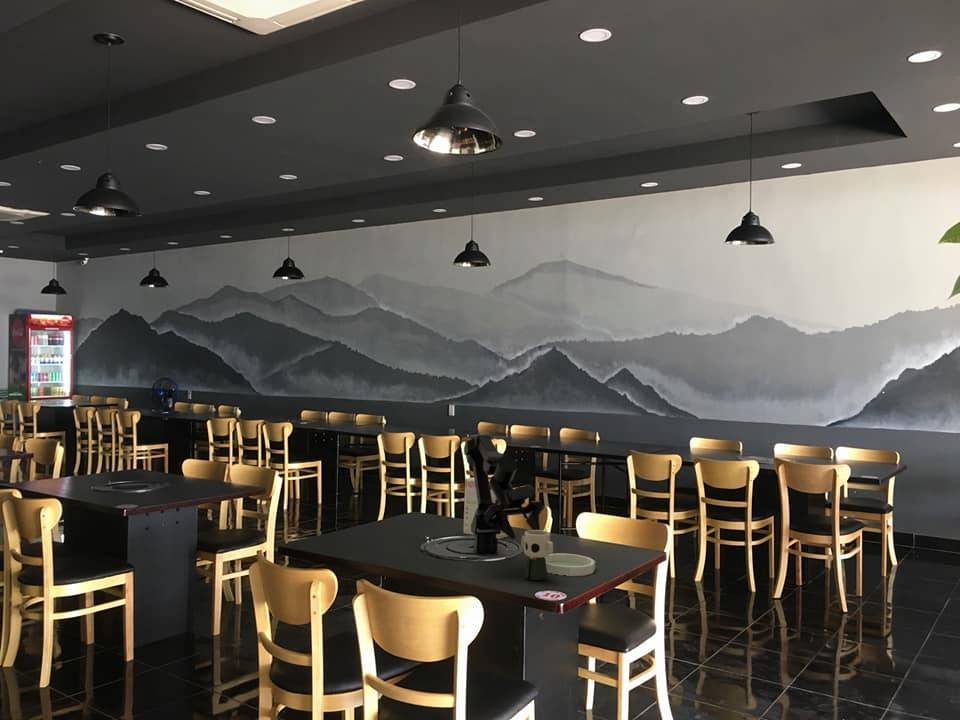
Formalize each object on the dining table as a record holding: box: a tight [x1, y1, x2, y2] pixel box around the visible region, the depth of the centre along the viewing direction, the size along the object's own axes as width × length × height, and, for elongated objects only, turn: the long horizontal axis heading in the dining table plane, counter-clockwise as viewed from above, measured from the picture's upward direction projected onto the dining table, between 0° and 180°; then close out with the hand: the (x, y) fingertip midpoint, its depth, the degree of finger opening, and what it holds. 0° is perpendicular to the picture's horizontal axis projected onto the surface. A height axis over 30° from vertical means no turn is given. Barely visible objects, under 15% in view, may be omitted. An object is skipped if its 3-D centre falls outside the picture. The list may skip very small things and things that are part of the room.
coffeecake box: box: [462, 476, 510, 540], centre depth 266 cm, size 15×7×20 cm, turn 54°
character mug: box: [520, 529, 554, 581], centre depth 211 cm, size 11×7×13 cm, turn 48°
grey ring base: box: [544, 553, 596, 577], centre depth 223 cm, size 16×16×2 cm
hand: (526, 536), depth 214 cm, fingers open, 9 cm apart
